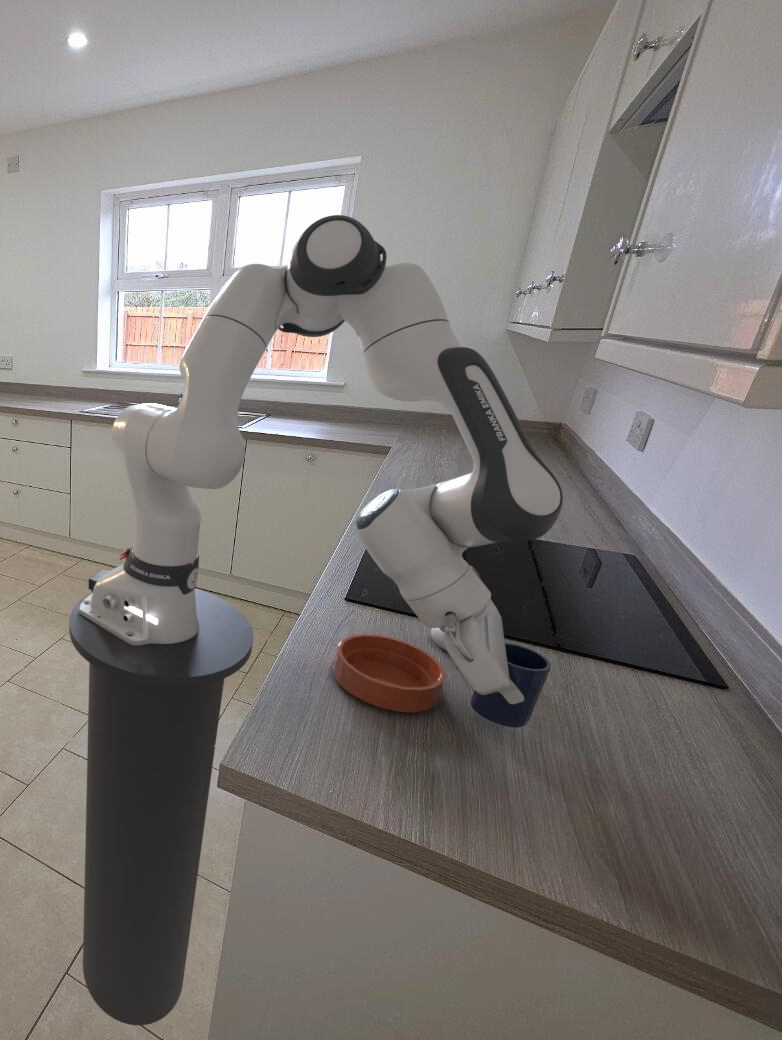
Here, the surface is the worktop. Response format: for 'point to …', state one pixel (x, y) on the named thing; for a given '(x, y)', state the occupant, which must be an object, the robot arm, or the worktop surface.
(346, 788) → the worktop surface
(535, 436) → the worktop surface
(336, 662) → the bowl
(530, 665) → the cup
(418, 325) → the robot arm
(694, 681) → the worktop surface
